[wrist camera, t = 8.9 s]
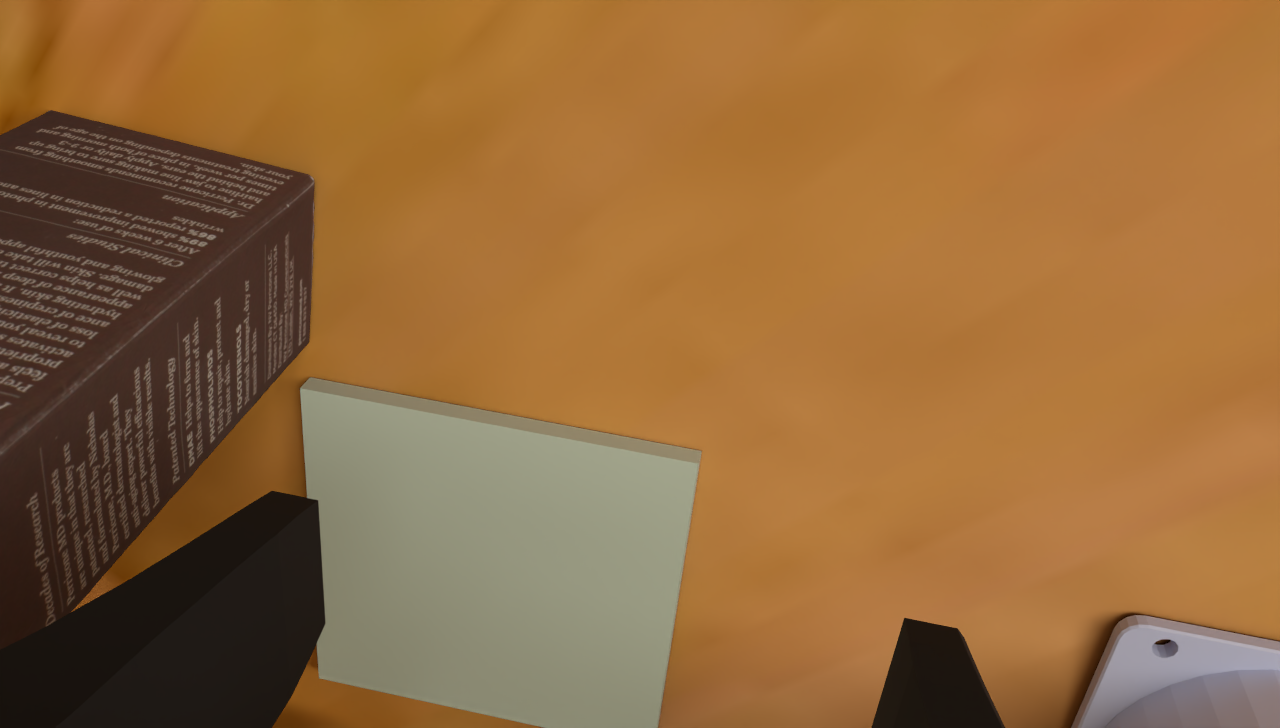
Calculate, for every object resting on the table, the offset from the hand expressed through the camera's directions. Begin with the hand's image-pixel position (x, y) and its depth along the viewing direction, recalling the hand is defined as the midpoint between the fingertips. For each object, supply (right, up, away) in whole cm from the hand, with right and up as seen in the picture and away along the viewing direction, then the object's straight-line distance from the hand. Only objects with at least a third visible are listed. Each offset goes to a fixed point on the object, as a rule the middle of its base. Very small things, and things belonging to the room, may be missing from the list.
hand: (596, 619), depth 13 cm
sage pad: (-3, -2, +13) cm, 14 cm away
